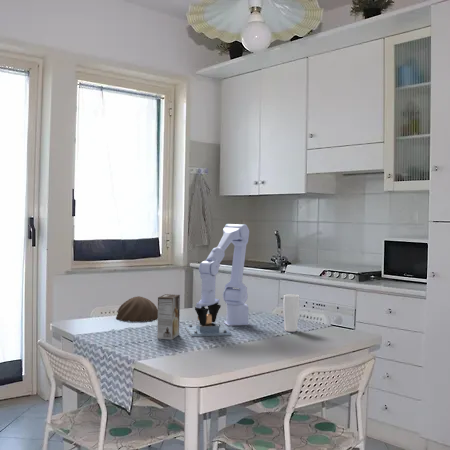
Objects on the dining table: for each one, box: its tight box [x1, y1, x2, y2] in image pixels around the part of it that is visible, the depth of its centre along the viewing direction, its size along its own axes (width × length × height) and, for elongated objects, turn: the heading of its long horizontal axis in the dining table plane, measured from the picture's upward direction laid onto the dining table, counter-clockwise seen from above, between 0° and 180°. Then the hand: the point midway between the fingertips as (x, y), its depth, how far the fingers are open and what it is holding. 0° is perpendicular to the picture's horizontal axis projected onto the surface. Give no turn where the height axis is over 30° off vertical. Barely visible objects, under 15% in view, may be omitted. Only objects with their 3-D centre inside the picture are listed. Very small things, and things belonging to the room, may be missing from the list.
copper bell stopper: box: [197, 313, 212, 326], centre depth 228 cm, size 6×4×6 cm, turn 51°
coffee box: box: [156, 293, 181, 341], centre depth 216 cm, size 9×6×16 cm
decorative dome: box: [115, 295, 158, 323], centre depth 254 cm, size 19×20×10 cm
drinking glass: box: [282, 293, 301, 333], centre depth 232 cm, size 7×7×15 cm
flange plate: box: [184, 321, 232, 337], centre depth 227 cm, size 16×16×3 cm
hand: (207, 323), depth 227 cm, fingers open, 7 cm apart
